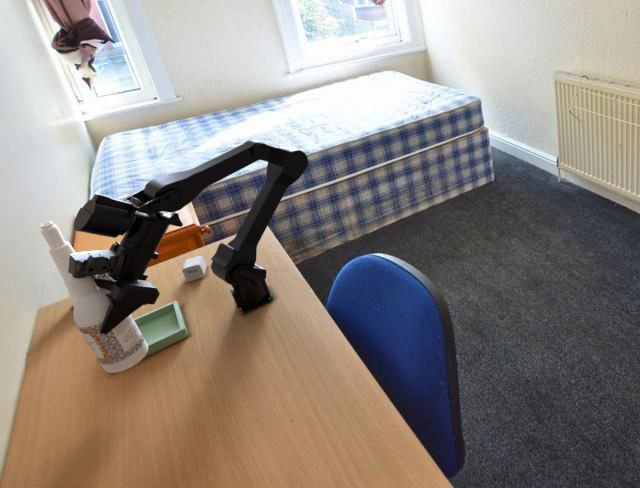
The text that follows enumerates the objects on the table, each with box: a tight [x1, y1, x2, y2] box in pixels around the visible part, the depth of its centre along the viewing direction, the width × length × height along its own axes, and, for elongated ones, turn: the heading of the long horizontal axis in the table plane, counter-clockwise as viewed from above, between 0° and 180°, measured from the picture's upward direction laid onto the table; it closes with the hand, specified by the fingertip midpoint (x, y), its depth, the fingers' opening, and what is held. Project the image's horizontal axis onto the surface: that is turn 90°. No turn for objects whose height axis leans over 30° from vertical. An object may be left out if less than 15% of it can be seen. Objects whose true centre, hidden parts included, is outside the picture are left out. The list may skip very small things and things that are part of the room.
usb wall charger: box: [181, 255, 207, 282], centre depth 120 cm, size 4×7×4 cm, turn 25°
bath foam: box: [68, 276, 148, 374], centre depth 85 cm, size 7×7×20 cm
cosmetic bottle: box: [39, 221, 77, 308], centre depth 110 cm, size 6×6×22 cm
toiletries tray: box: [133, 300, 189, 358], centre depth 100 cm, size 13×13×2 cm
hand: (96, 325), depth 84 cm, fingers closed on bath foam, 7 cm apart
